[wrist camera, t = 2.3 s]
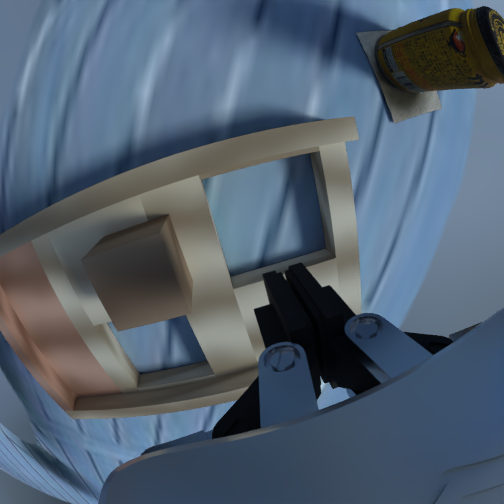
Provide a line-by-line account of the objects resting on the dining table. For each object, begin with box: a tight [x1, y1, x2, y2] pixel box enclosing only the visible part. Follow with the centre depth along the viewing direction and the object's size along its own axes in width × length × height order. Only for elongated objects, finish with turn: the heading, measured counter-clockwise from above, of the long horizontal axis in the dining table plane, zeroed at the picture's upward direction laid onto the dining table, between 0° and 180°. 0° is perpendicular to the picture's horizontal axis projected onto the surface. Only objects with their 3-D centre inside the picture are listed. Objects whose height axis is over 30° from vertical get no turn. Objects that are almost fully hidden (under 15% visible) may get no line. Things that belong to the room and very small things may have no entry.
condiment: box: [356, 6, 504, 123], centre depth 11 cm, size 7×8×12 cm
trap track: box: [0, 116, 361, 419], centre depth 19 cm, size 20×32×4 cm, turn 104°
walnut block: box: [81, 214, 193, 331], centre depth 16 cm, size 5×5×4 cm
